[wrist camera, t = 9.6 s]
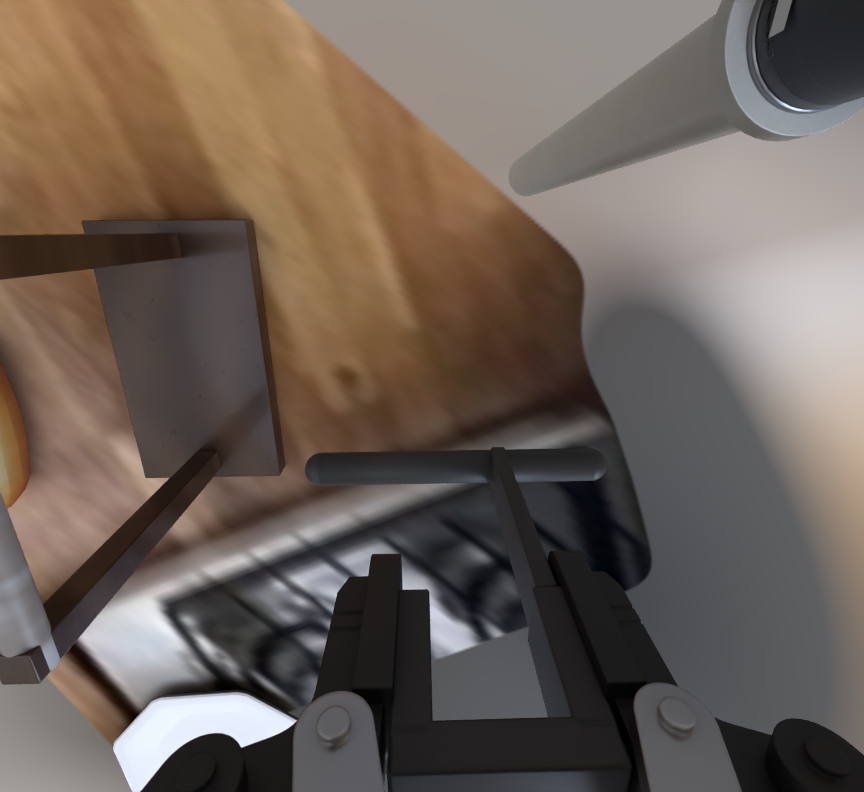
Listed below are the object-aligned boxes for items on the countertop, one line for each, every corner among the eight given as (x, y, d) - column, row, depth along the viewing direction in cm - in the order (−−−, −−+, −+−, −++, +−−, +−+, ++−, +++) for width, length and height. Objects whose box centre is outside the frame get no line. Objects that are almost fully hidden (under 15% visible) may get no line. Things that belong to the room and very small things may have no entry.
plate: (158, 818, 50) (151, 835, 49) (101, 688, 44) (91, 704, 42) (338, 805, 50) (335, 822, 49) (309, 673, 43) (305, 688, 42)
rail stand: (253, 220, 30) (9, 205, 12) (285, 466, 36) (154, 695, 18) (97, 220, 30) (-381, 208, 12) (156, 468, 36) (-103, 702, 18)
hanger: (602, 437, 18) (882, 758, 7) (597, 474, 18) (849, 824, 7) (306, 442, 17) (127, 782, 7) (311, 479, 18) (151, 848, 7)
